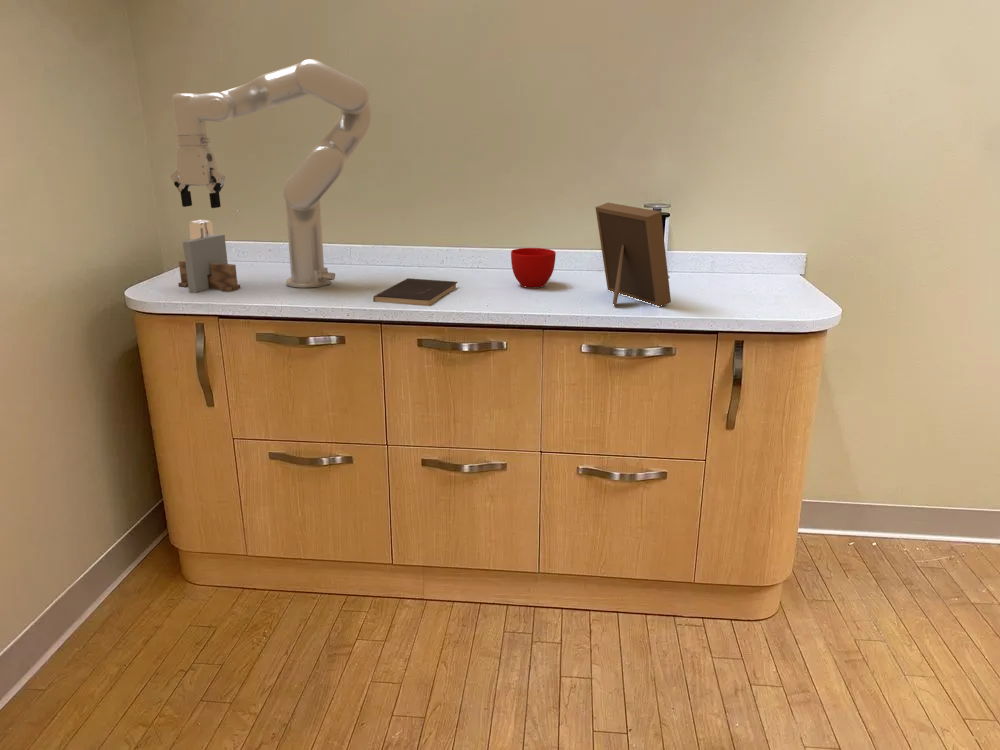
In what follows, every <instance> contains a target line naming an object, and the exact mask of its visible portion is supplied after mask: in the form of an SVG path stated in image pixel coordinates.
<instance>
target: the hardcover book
mask: <svg viewBox="0 0 1000 750" xmlns="http://www.w3.org/2000/svg"><path fill="white" fill-rule="evenodd" d="M457 284H458V281H454V280H453V281H449V280H438V279H437V280H436V279H425V278H422V279H421V278H410V277H409V278H408V277H407V278H405V279H403V280H402V281H401V280H400V282H398V283H396V284H394V285H392V286H390V287H387V288H386V289H384V290H383V291H380V292H378V293H377V294H375V295H373V302H378V303H379V302H380V303H388V304H389V303H392V304H404V305H405V304H406V305H414V306H415V305H416V306H428V307H429V306H430V305H432V304H433V303H435V302H436V301H438V300H440V299H441V298H442V296H443V297H444V296H445V294H446V295H447V294H449V293H450V292H451V291H454V290H455V289H456V288H457ZM448 292H449V293H448Z"/></svg>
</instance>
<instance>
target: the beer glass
mask: <svg viewBox="0 0 1000 750" xmlns="http://www.w3.org/2000/svg"><path fill="white" fill-rule="evenodd" d="M188 222H189V223H188V224H189V226H188V227H189V237H190V240H193V239H197V238H202V237H207V236H212V235H215V234H214V227H213V224H212V223H213V221H212V220H210V219H194V220H190V221H188Z"/></svg>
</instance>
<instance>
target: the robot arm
mask: <svg viewBox="0 0 1000 750" xmlns="http://www.w3.org/2000/svg"><path fill="white" fill-rule="evenodd" d="M310 96H314V97H316V98H317V99H320V100H322V101H323V102H326V103H328V104H331V105H333V106H335V107H337V108H338V109H340V113H339V116H338V118H337V120H336V121H335V122H334V124H333V125H332V126H331V128H330V129H329V130H328V132H327V133H326V134H325V135H324V136H323V138H322V139H321V140H320V141H319V142H318V143H317V144H316V145H315V146H314V147H313V148H312V149H311V150H310V152H309V153H308V155H307V156H306V157H305V158H304V159H303V161H302V162H301V163H300V165H298V167H296V169H295V171H294V172H293V173H292V174H290V175H289V176H288V177H287V178H286V180H285V181H284V185H283V187H282V188H283V190H282V191H283V192H282V194H283V198H284V201H285V202H284V203H285V212H286V227H287V241H288V251H289V255H288V256H289V265H290V266H289V267H290V275H291V276H290V277H289V278H287V279H286V280H285V284H286V285H287V286H288V287H291V288H292V287H293V288H304V289H305V288H307V289H308V288H319V287H323V286H328V285H330V283H331V281H334V280H335V279H336V273H335V272H329V271H328V267H325V262H324V261H325V259H324V258H325V257H324V246H323V245H324V244H323V243H324V242H323V232H322V229H323V228H322V227H323V226H322V215H321V199H322V198H323V196H325V194H326V193H327V191H328V190H329V189H330V188H332V185H334V183H335V182H336V181H337V180H338V178H339V177H340V176H341V174H342V173H343V171H344V169H345V163H346V162H347V160H348V159H349V158H350V157H351V156H352V154H353V153H354V152H355V150H357V148H358V147H359V145H360V144H361V142H362V141H363V140H364V138H365V137H366V135H367V134H368V131H369V128H370V125H371V119H372V117H371V116H372V113H371V110H372V109H371V105H370V102H369V99H370V97H369V92H368V89H367V88H366V86H365V85H364V84H363V82H361V81H359V80H357V79H356V78H353V77H351V76H350V75H347V74H345V73H343V72H340V71H339V70H337V69H334V68H333V67H331V66H329V65H328V64H325V63H324V62H322V61H320V60H317V59H315V58H307V59H303V60H302V61H300V62H298V63H295V64H292V65H289V66H286V67H283V68H280V69H277V70H273V71H270V72H267V73H263V74H261V75H259V76H257V77H256V78H253V80H251V81H249V82H246V83H244V84H242V85H239V86H236V87H232V88H229V89H226V90H223V91H219V92H218V91H213V92H206V93H197V92H196V93H195V92H181V93H180V92H178V93H174V94H173V95H172V97H171V98H172V99H171V101H172V103H171V104H172V108H173V116H174V123H175V130H176V135H177V136H176V137H177V144H178V147H177V149H176V150H177V151H176V165H177V166H176V167H177V170H176V171H174V172H172V174H170V178H171V180H172V182H173V185H174V186H175V187H176V188H177V191H178V193H180V198H181V206H182V207H183V208H186V207H192V206H193V201H192V195H191V194H192V191H190V190H189V189H190V188H191V186H196V187H197V186H198V187H199V186H200V187H203V186H205V187H207V189H208V190H209V191H210V192H209V194H208V195H209V202H210V208H211V209H216V208H221V199H220V198H221V197H220V193H221V192H222V189H223V187H224V183H225V180H226V176H224V174H222V173H220V172H218V167H217V163H216V158H215V155H214V152H213V149H212V147H210V146H209V143H211V139H210V137H208V133H207V132H208V131H207V125H206V122H214V123H223V122H229V121H231V120H234V119H237V118H240V117H244V116H247V115H250V114H253V113H257V112H259V111H263V110H269V109H273V108H276V107H279V106H282V105H286V104H288V103H291V102H295V101H297V100H301V99H303V98H307V97H310Z"/></svg>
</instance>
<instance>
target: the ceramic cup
mask: <svg viewBox="0 0 1000 750" xmlns="http://www.w3.org/2000/svg"><path fill="white" fill-rule="evenodd" d="M556 254H557V253H556V251H555V250H554V249H548V248H543V247H542V248H541V247H522V248H516V249H512V250H511V252H510V260H511V261H510V263H511V269H512V272H513V276H514V277H515V279H516V280H517V281H518V283H519V284H520V286H521V285H522V286H521V287H523V286H526V287H525V288H527V287H539V288H542V287H541V286H543V287H544V286H546V284H547V282H548V281H549V280H550V279H551V277H552V275H553V272H554V269H555V264H556V257H557V256H556Z"/></svg>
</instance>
